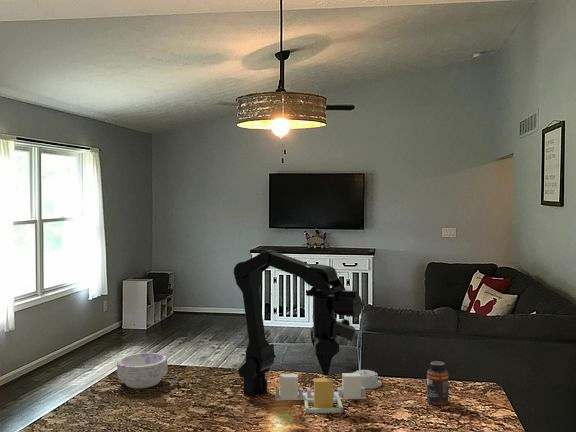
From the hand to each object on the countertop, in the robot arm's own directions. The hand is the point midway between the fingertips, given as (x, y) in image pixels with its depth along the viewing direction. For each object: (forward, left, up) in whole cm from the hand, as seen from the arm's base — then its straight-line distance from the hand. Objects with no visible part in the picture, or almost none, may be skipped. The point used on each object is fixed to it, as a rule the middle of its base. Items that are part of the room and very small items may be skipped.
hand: (324, 370), depth 160 cm
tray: (0, 0, -11) cm, 11 cm away
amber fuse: (0, 0, -11) cm, 11 cm away
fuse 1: (-9, +9, -10) cm, 17 cm away
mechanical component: (+15, +20, -12) cm, 27 cm away
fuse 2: (+9, +9, -10) cm, 16 cm away
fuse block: (0, +9, -11) cm, 14 cm away
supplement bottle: (+33, +5, -12) cm, 35 cm away
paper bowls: (-54, +25, -12) cm, 61 cm away
